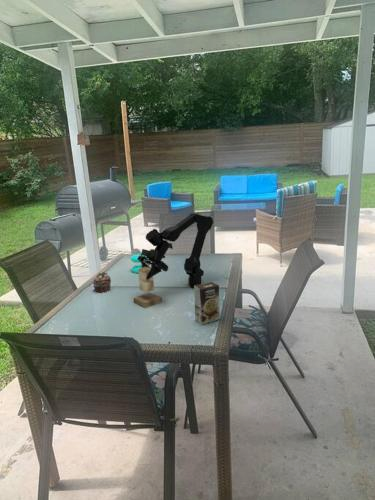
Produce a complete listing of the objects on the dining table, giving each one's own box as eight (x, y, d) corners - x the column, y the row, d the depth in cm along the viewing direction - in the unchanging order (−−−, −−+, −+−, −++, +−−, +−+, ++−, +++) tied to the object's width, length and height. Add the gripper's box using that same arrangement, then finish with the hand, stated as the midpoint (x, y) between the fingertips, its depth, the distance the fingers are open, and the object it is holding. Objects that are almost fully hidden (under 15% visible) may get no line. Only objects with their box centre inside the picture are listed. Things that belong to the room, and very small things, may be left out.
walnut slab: (150, 298, 201) (149, 292, 200) (162, 303, 193) (161, 297, 192) (133, 303, 194) (133, 297, 194) (145, 309, 187) (144, 303, 186)
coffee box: (202, 325, 166) (200, 289, 162) (195, 319, 171) (193, 285, 167) (220, 320, 170) (219, 285, 166) (212, 315, 175) (211, 281, 171)
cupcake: (105, 286, 221) (103, 269, 218) (115, 289, 214) (113, 272, 211) (90, 290, 214) (88, 273, 212) (99, 294, 208) (97, 276, 205)
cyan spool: (127, 257, 241) (137, 253, 249) (128, 272, 244) (138, 268, 252) (139, 258, 236) (150, 254, 244) (141, 274, 238) (151, 270, 247)
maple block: (148, 287, 195) (146, 266, 193) (154, 289, 192) (152, 268, 189) (139, 290, 192) (138, 268, 189) (145, 292, 189) (144, 270, 186)
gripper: (138, 239, 195) (122, 265, 191) (161, 245, 182) (144, 273, 178) (152, 251, 202) (136, 277, 198) (175, 257, 189) (159, 285, 185)
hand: (143, 277), depth 189 cm, fingers closed on maple block, 5 cm apart
